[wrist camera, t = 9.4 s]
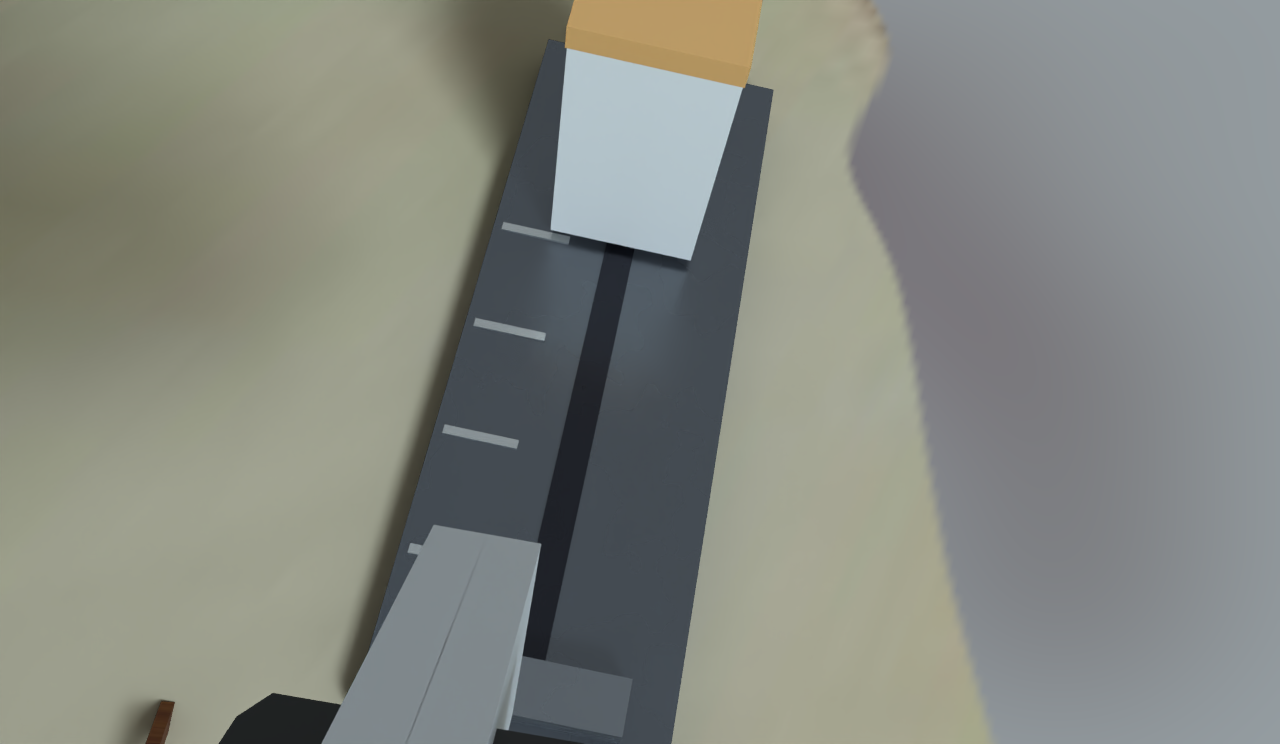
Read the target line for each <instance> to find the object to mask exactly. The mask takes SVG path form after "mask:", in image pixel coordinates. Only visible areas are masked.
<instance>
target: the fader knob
mask: <svg viewBox="0 0 1280 744" xmlns="http://www.w3.org/2000/svg"><path fill="white" fill-rule="evenodd" d="M761 6H762V0H574V3H573V6H572V10H571V13H570V17H569V20H568V24H567V28H566V40H565V48H567V52H566V63H565V74H564V85H563V96H562V108H561V119H560V130H559V141H558V152H557V163H556V175H555V186H554V197H553V208H552V219H551V230H554V231H558V232H563V233H567V234H572V235H576V236H581V237H585V238H590V239H595V240H599V241H604V242H608V243H613V244H617V245H622V246H626V247H631V248H636V249H640V250H645V251H649V252H654V253H658V254H663V255H667V256H672V257H677V258H681V259H686V260H690V261H691V257H692V254H693V251H694V248H695V244H696V241H697V238H698V234H699V231H700V228H701V224H702V221H703V218H704V214H705V211H706V208H707V205H708V201H709V198H710V195H711V191H712V188H713V185H714V181H715V178H716V175H717V171H718V168H719V165H720V162H721V158H722V155H723V152H724V148H725V145H726V142H727V138H728V135H729V132H730V128H731V125H732V122H733V119H734V115H735V112H736V109H737V105H738V102H739V99H740V95H741V92H742V89H743V88H745V86H746V82H747V79H748V76H749V72H750V69H751V64H752V59H753V53H754V47H755V41H756V35H757V29H758V24H759V18H760V12H761Z"/></svg>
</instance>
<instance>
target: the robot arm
mask: <svg viewBox="0 0 1280 744" xmlns="http://www.w3.org/2000/svg"><path fill="white" fill-rule="evenodd" d="M540 548H541V544H540V543H535V542H529V541H523V540H518V539H512V538H506V537H501V536H495V535H489V534H484V533H478V532H472V531H467V530H461V529H455V528H450V527H444V526H438V525H433V527H432V529H431V531H430V533H429V535H428V537H427V539H426V541H425V543H424V545H423V547H422V549H421V551H420V553H419V554H418V556H417V558H416V560H415V562H414V564H413V566H412V568H411V570H410V572H409V574H408V576H407V578H406V580H405V582H404V584H403V586H402V588H401V590H400V592H399V593H398V595H397V597H396V599H395V601H394V603H393V605H392V607H391V609H390V611H389V613H388V615H387V617H386V619H385V621H384V623H383V625H382V627H381V629H380V630H379V632H378V634H377V636H376V638H375V640H374V642H373V644H372V646H371V648H370V650H369V652H368V654H367V656H366V658H365V660H364V662H363V664H362V666H361V668H360V669H359V671H358V673H357V675H356V677H355V679H354V681H353V683H352V685H351V687H350V689H349V691H348V693H347V695H346V697H345V699H344V701H343V703H342V705H340V704H334V703H328V702H322V701H316V700H311V699H305V698H299V697H293V696H287V695H282V694H276V693H272V694H271V695H269V696H267V697H266V698H264V699H263V700H261V701H260V702H258V703H257V704H255V705H254V706H252V707H251V708H249V709H248V710H246V711H244V712H243V713H241V714H240V715H238V716H237V717H236V718H235V720H234V721H233V723H232V724H231V726H230V727H229V729H228V730H227V732H226V733H225V735H224V736H223V738H222V739H221V741H220V742H219V744H584V743H579V742H573V741H567V740H561V739H556V738H550V737H544V736H538V735H532V734H527V733H521V732H515V731H509V726H510V722H511V718H512V714H513V708H514V702H515V696H516V690H517V684H518V678H519V672H520V666H521V660H522V654H523V649H524V643H525V637H526V631H527V625H528V619H529V613H530V607H531V601H532V595H533V589H534V583H535V578H536V572H537V566H538V560H539V554H540Z"/></svg>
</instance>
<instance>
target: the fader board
mask: <svg viewBox="0 0 1280 744" xmlns="http://www.w3.org/2000/svg"><path fill="white" fill-rule="evenodd" d="M566 52H567V48H565V43H563V42H558V41H554V40H550V39H549V40H548V43H547V47H546V50H545V54H544V57H543V60H542V64H541V67H540V70H539V74H538V77H537V81H536V84H535V87H534V91H533V94H532V98H531V101H530V104H529V108H528V111H527V115H526V118H525V121H524V125H523V128H522V131H521V135H520V138H519V142H518V145H517V148H516V152H515V155H514V159H513V162H512V165H511V169H510V172H509V176H508V179H507V182H506V186H505V189H504V193H503V196H502V199H501V203H500V206H499V209H498V213H497V216H496V220H495V223H494V226H493V230H492V233H491V237H490V240H489V243H488V247H487V250H486V254H485V257H484V260H483V264H482V267H481V271H480V274H479V277H478V281H477V284H476V287H475V291H474V294H473V298H472V301H471V304H470V308H469V311H468V315H467V318H466V321H465V325H464V328H463V332H462V335H461V338H460V342H459V345H458V349H457V352H456V355H455V359H454V362H453V365H452V369H451V372H450V376H449V379H448V382H447V386H446V389H445V393H444V396H443V399H442V403H441V406H440V410H439V413H438V416H437V420H436V423H435V427H434V430H433V433H432V437H431V440H430V443H429V447H428V450H427V454H426V457H425V460H424V464H423V467H422V471H421V474H420V477H419V481H418V484H417V488H416V491H415V494H414V498H413V501H412V505H411V508H410V511H409V515H408V518H407V521H406V525H405V528H404V532H403V535H402V538H401V542H400V545H399V549H398V552H397V555H396V559H395V562H394V566H393V569H392V572H391V576H390V579H389V583H388V586H387V589H386V593H385V596H384V599H383V603H382V606H381V610H380V613H379V616H378V620H377V623H376V627H375V630H374V633H373V637H372V640H371V644H370V647H369V650H370V648H371V646H372V644H373V642H374V640H375V638H376V636H377V634H378V632H379V630H380V629H381V627H382V625H383V623H384V621H385V619H386V617H387V615H388V613H389V611H390V609H391V607H392V605H393V603H394V601H395V599H396V597H397V595H398V593H399V592H400V590H401V588H402V586H403V584H404V582H405V580H406V578H407V576H408V574H409V572H410V570H411V568H412V566H413V564H414V562H415V560H416V558H417V556H418V554H419V553H420V551H421V549H422V547H423V545H424V543H425V541H426V539H427V537H428V535H429V533H430V531H431V529H432V527H433V525H438V526H444V527H450V528H455V529H461V530H467V531H472V532H478V533H484V534H489V535H495V536H501V537H506V538H512V539H518V540H523V541H529V542H535V543H540V544H541V548H540V554H539V560H538V566H537V572H536V578H535V583H534V589H533V595H532V601H531V607H530V613H529V619H528V625H527V631H526V637H525V643H524V649H523V654H522V660H521V666H520V672H519V678H518V684H517V690H516V696H515V702H514V708H513V714H512V718H511V722H510V726H509V731H515V732H521V733H527V734H532V735H538V736H544V737H550V738H556V739H561V740H567V741H573V742H579V743H584V744H671V742H672V735H673V729H674V723H675V716H676V710H677V703H678V697H679V691H680V684H681V678H682V672H683V665H684V659H685V652H686V646H687V640H688V633H689V627H690V620H691V614H692V608H693V601H694V595H695V588H696V582H697V576H698V569H699V563H700V556H701V550H702V544H703V537H704V531H705V524H706V518H707V512H708V505H709V499H710V493H711V486H712V480H713V473H714V467H715V461H716V454H717V448H718V441H719V435H720V429H721V422H722V416H723V409H724V403H725V397H726V390H727V384H728V377H729V371H730V365H731V358H732V352H733V345H734V339H735V333H736V326H737V320H738V313H739V307H740V301H741V294H742V288H743V282H744V275H745V269H746V262H747V256H748V250H749V243H750V237H751V230H752V224H753V218H754V211H755V205H756V198H757V192H758V186H759V179H760V173H761V166H762V160H763V154H764V147H765V141H766V134H767V128H768V122H769V115H770V109H771V102H772V96H773V90H772V89H768V88H763V87H759V86H754V85H750V84H746V86H745V88H743V89H742V92H741V95H740V99H739V102H738V105H737V109H736V112H735V115H734V119H733V122H732V125H731V128H730V132H729V135H728V138H727V142H726V145H725V148H724V152H723V155H722V158H721V162H720V165H719V168H718V171H717V175H716V178H715V181H714V185H713V188H712V191H711V195H710V198H709V201H708V205H707V208H706V211H705V214H704V218H703V221H702V224H701V228H700V231H699V234H698V238H697V241H696V244H695V248H694V251H693V254H692V257H691V261H690V260H686V259H681V258H677V257H672V256H667V255H663V254H658V253H654V252H649V251H645V250H640V249H636V248H631V247H626V246H622V245H617V244H613V243H608V242H604V241H599V240H595V239H590V238H585V237H581V236H576V235H572V234H567V233H563V232H558V231H554V230H551V219H552V208H553V197H554V186H555V175H556V163H557V152H558V141H559V130H560V119H561V108H562V96H563V85H564V74H565V63H566ZM369 650H368V652H369Z"/></svg>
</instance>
